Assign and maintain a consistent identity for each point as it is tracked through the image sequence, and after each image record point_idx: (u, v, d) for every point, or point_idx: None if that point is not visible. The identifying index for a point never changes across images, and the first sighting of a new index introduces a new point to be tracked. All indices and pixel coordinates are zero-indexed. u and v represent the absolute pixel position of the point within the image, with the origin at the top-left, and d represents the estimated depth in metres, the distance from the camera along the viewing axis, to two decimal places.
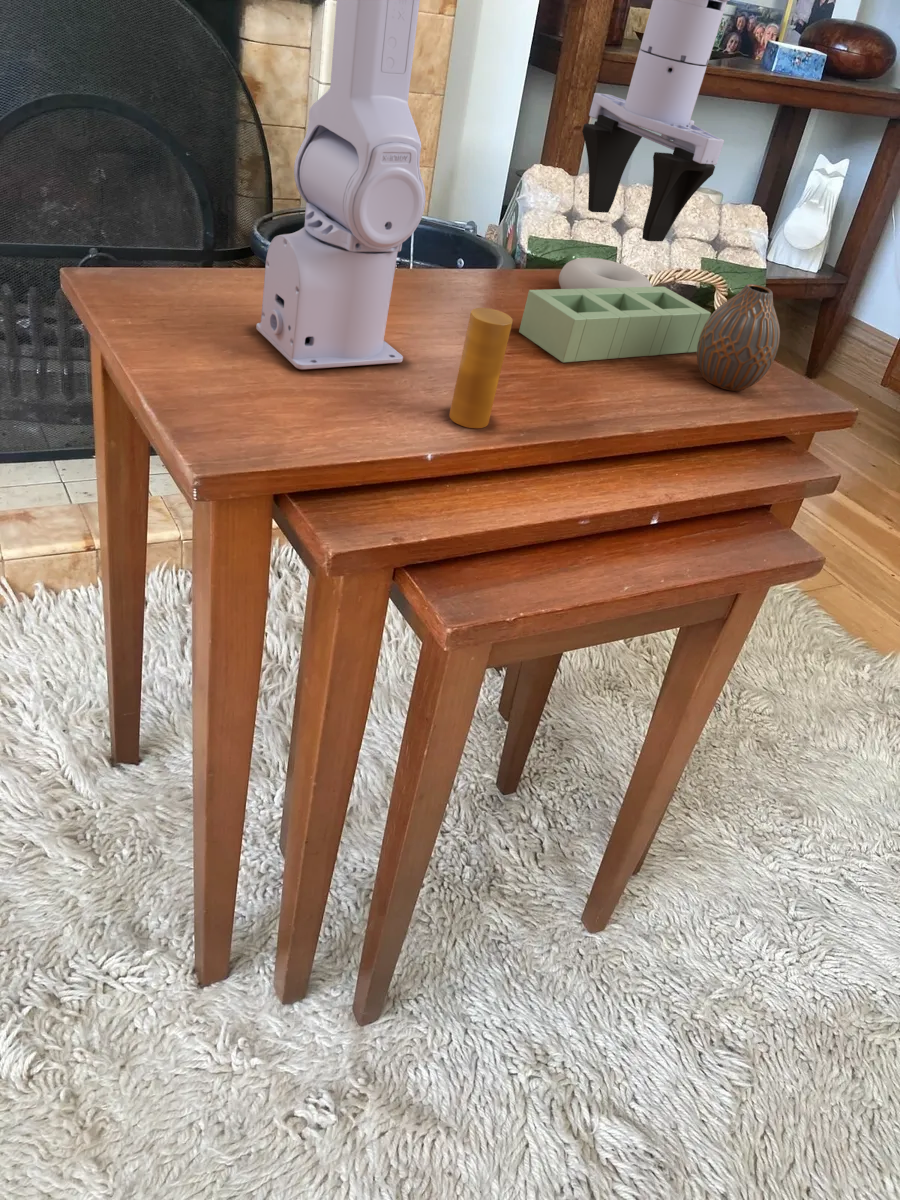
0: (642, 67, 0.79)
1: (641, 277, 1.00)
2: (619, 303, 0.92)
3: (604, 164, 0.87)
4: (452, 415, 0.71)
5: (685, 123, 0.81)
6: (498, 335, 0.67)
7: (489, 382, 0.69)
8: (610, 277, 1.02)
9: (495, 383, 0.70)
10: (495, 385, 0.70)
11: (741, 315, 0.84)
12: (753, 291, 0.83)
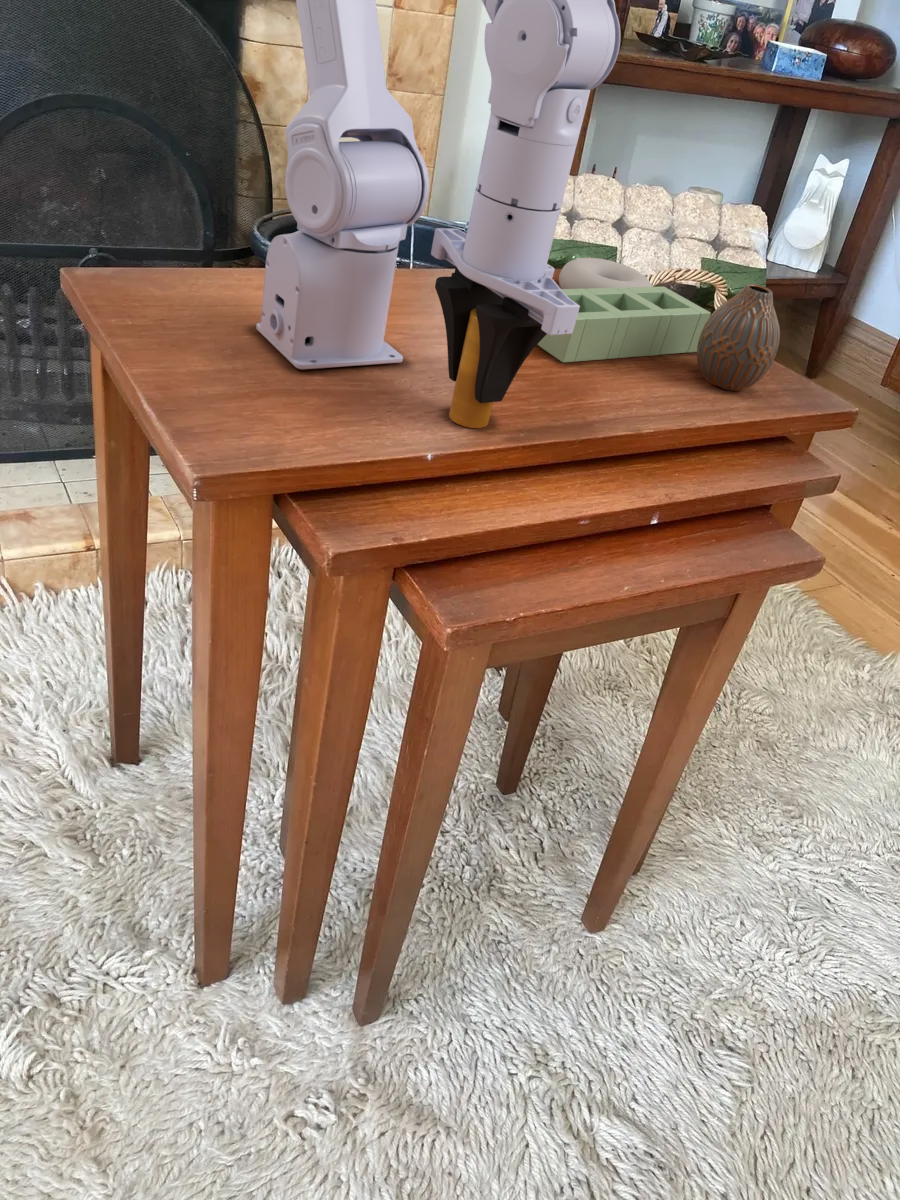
0: (477, 211, 0.62)
1: (641, 277, 1.00)
2: (619, 303, 0.92)
3: (464, 326, 0.69)
4: (452, 415, 0.71)
5: (536, 277, 0.64)
6: None
7: None
8: (610, 277, 1.02)
9: None
10: None
11: (741, 315, 0.84)
12: (753, 291, 0.83)
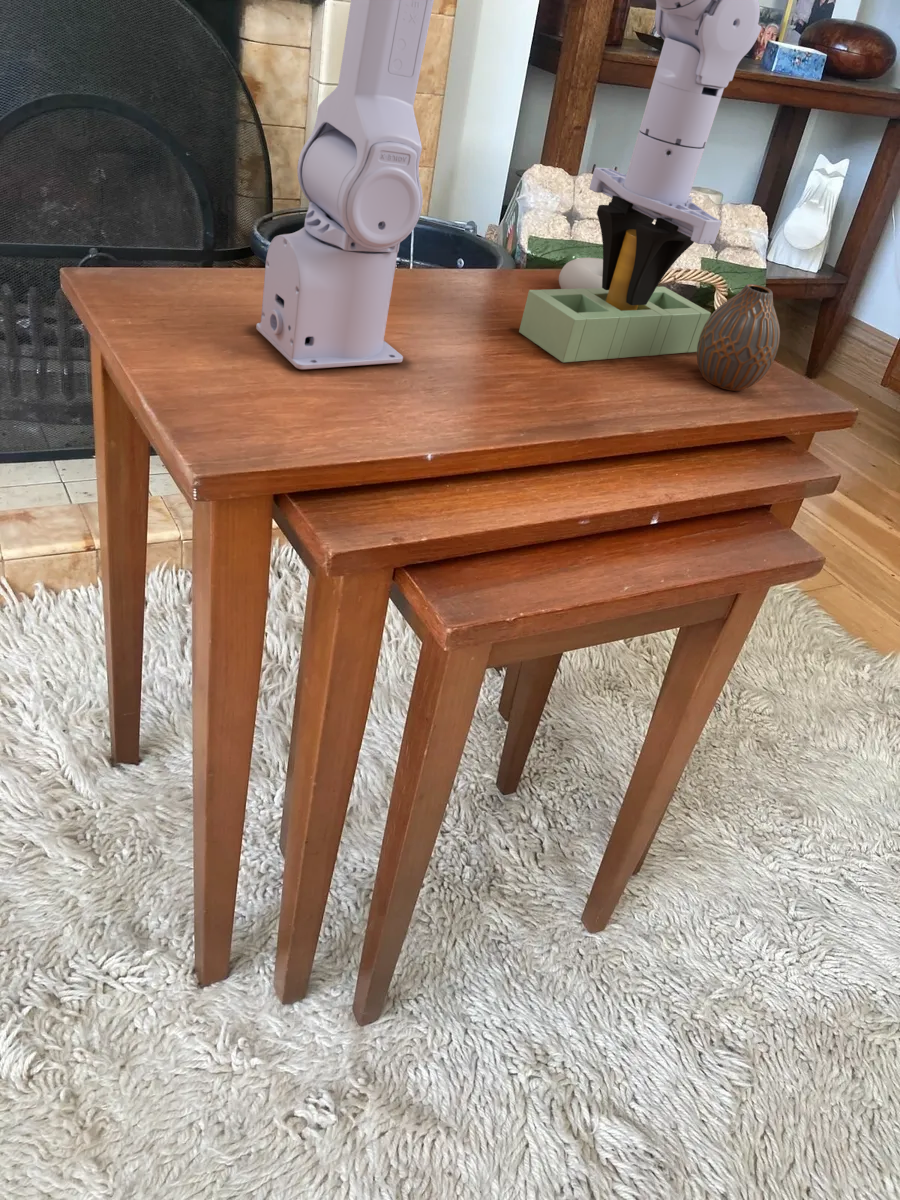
0: (641, 148, 0.81)
1: None
2: None
3: (618, 244, 0.87)
4: None
5: (683, 202, 0.83)
6: None
7: None
8: None
9: None
10: None
11: (741, 315, 0.84)
12: (753, 291, 0.83)
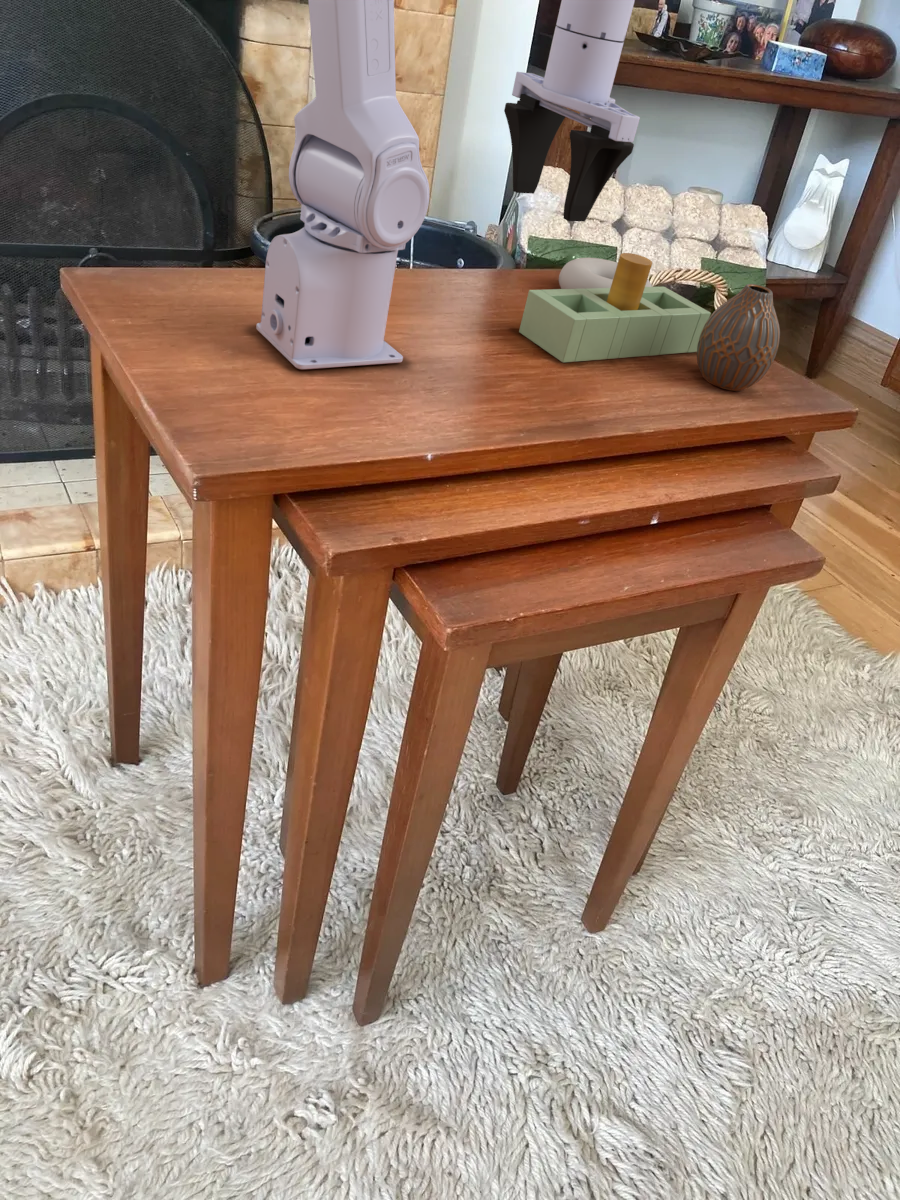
0: (558, 43, 0.78)
1: None
2: None
3: (527, 144, 0.86)
4: None
5: (603, 101, 0.80)
6: (642, 273, 0.87)
7: None
8: (610, 277, 1.02)
9: None
10: None
11: (741, 315, 0.84)
12: (753, 291, 0.83)
